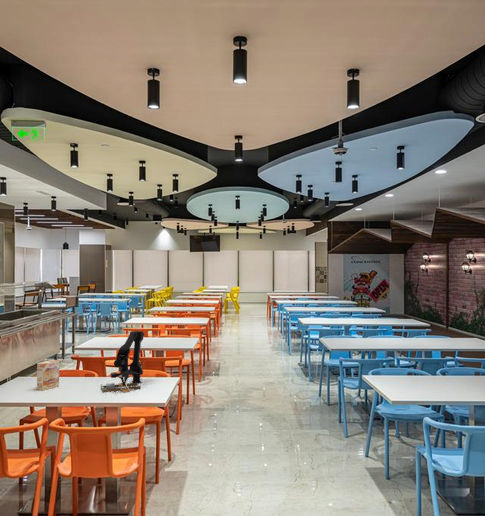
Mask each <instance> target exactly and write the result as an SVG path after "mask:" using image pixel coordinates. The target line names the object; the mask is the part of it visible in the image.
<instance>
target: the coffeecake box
mask: <svg viewBox="0 0 485 516" xmlns="http://www.w3.org/2000/svg"><path fill="white" fill-rule="evenodd" d="M36 365H37V366H36V367H37V368H36V390H37V389H38V390H39V391H46V390H51V389H53V388H58V387H60V360H58V359H49V360H45V361H41V362H37V363H36ZM57 386H58V387H57Z"/></svg>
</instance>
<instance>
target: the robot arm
mask: <svg viewBox="0 0 485 516" xmlns="http://www.w3.org/2000/svg"><path fill="white" fill-rule="evenodd" d="M144 336H145V332H144V331H142V330H134V331H130V332H129V335H128V337H127V339H126V341H125V342H124V344H123V345H121V346H120V347H119V349H118V351H117V353H116V359H115V360H114V362H113V366H114V367H115V368H119V372H118V373H117V372H116V371H115V372H111V373H110V378H111V379H114V378H117V377H118V378H119V379H120V380H121V383H122V384H123V387H126V386H125V383H126V384H127V381H128V379H129V378H130V376H132V380H131V382H132V383H138V384H139V383H142V381H141V376H142V375H143V373H144V370H143V368H142V364H141V362H140V357H141V347H142V346H141V345H142V343H143V340H144ZM133 343H134V345H133ZM132 345H133V355H132V356H133V357H132V362H131V363H130V364H129V358H130V353H131V347H132Z"/></svg>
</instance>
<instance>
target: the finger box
mask: <svg viewBox="0 0 485 516" xmlns="http://www.w3.org/2000/svg"><path fill="white" fill-rule="evenodd" d="M126 387H127V388H129V389H130V391H134V390H141V385H139V383H126ZM100 391H101V392H102V394H103V393H110V392H111V393H112V392H122V387H119V384H117V383H116V384H115V388H111V389H106V384H104V385H103V384H100Z"/></svg>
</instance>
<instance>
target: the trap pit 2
mask: <svg viewBox="0 0 485 516" xmlns="http://www.w3.org/2000/svg"><path fill="white" fill-rule="evenodd" d="M121 392H122V393H130V392H131V390H130V389H129V387H127V388H126V387H125V388H121Z"/></svg>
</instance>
